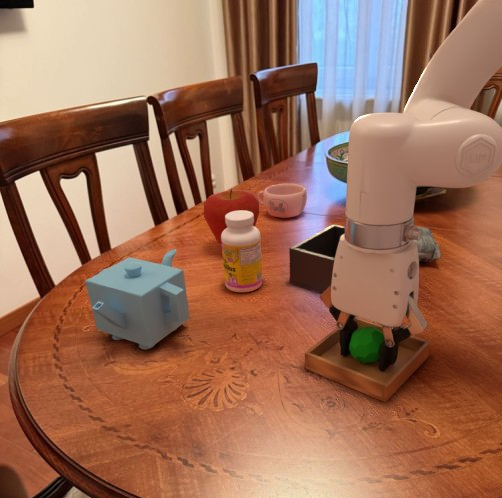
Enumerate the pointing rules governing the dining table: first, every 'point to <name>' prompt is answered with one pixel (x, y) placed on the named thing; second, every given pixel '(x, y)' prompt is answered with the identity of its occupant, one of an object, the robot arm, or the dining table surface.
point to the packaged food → (427, 247)
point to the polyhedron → (366, 344)
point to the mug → (284, 200)
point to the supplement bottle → (241, 252)
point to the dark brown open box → (315, 259)
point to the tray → (366, 364)
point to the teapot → (139, 300)
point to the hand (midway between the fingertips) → (367, 357)
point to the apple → (228, 208)
